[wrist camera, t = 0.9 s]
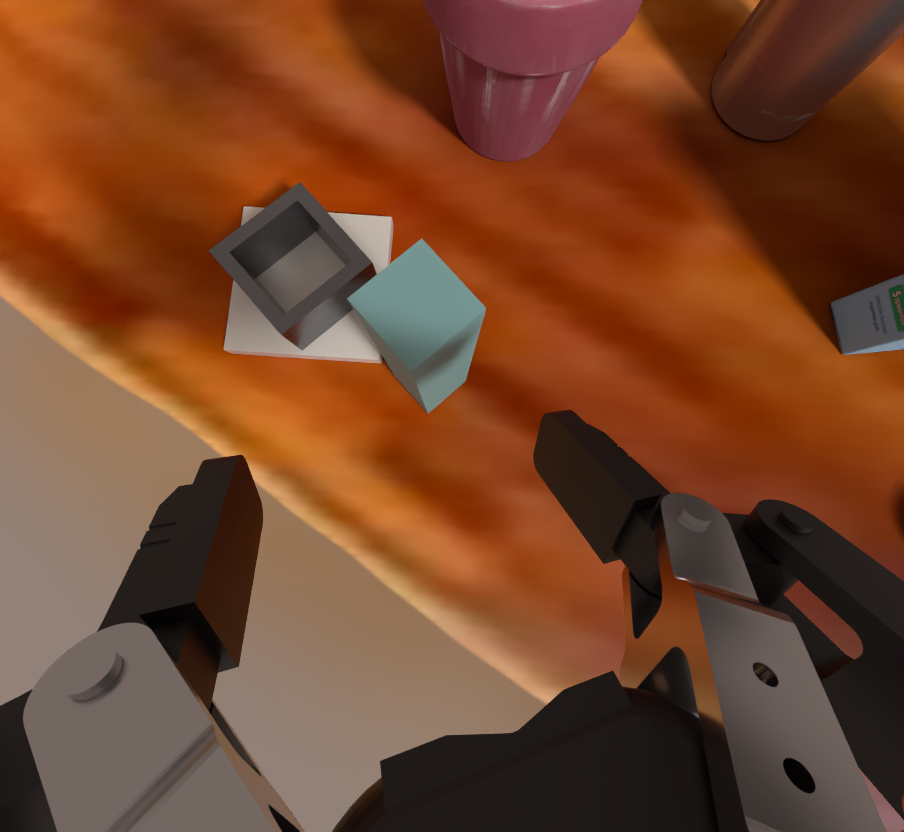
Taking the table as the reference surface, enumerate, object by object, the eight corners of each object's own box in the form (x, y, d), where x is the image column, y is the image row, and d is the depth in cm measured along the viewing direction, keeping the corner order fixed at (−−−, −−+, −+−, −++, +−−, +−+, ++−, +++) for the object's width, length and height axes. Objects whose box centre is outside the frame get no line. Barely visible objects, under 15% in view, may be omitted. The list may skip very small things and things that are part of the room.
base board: (250, 214, 29) (243, 206, 28) (393, 225, 29) (391, 216, 28) (231, 353, 28) (223, 349, 27) (381, 363, 28) (379, 359, 27)
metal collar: (238, 276, 28) (208, 250, 24) (317, 215, 28) (299, 181, 25) (302, 350, 27) (281, 335, 24) (381, 286, 28) (372, 262, 24)
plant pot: (532, 220, 30) (599, 45, 17) (394, 139, 30) (358, -89, 18) (612, 96, 31) (727, -150, 19) (479, 21, 32) (502, -267, 19)
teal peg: (395, 376, 28) (346, 298, 14) (432, 344, 28) (421, 238, 14) (427, 413, 28) (411, 371, 14) (465, 381, 28) (486, 308, 14)
